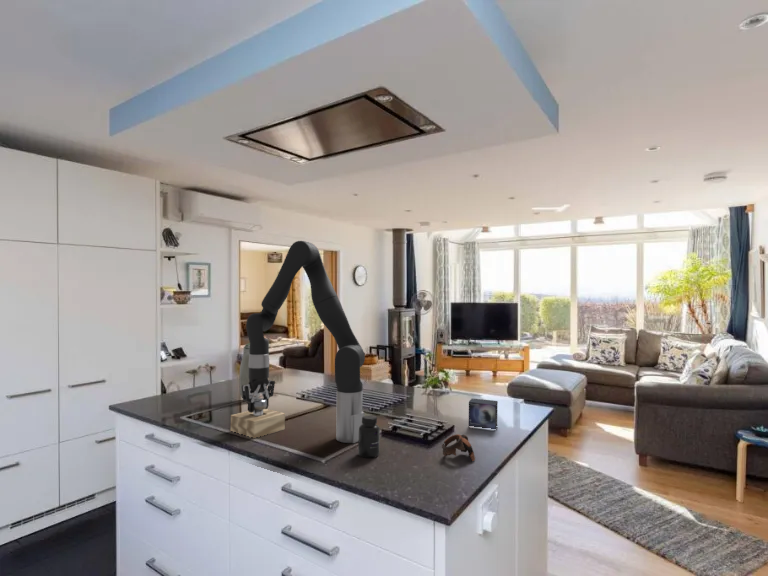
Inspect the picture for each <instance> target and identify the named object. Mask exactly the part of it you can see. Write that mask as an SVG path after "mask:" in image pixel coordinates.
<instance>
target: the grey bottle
mask: <svg viewBox="0 0 768 576" xmlns="http://www.w3.org/2000/svg"><path fill="white" fill-rule="evenodd" d="M249 355H250V342H249V343H246V344H245V345H244V346H243V354H242V358H241V361H240V366H239V395H240V397H241V398H242V399H243V396H242V385H248V383H249V377H248V375H249ZM249 389H250V388H249ZM249 391H250V390H249ZM252 394H253V392H252ZM261 395H262V394H261V393H257V396H256V397H255V399H256V398H260V396H261ZM251 398H252V397H251Z"/></svg>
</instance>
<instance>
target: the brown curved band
mask: <svg viewBox="0 0 768 576" xmlns="http://www.w3.org/2000/svg"><path fill="white" fill-rule="evenodd" d="M455 441H456V442H455ZM452 442H454V443H453V444H451V445H449V444H450V443H452ZM441 448H442V455H443V456H444V457H446V456H451V455H453V456H457V450H459V451H460V452H462V453H468V456H469V455H470V456H469V458H470V459H471V462H472V461H474V462H475V461H476V457H475V452H474V450H473V447H472V444H471V443H470V441H469V437H468V436H467V435H466V434H465V433H464V434H463V433H462V434H454V435H450V436H448V438H446V439H445V440H444V441H443V443H442V444H441Z"/></svg>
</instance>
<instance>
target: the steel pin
mask: <svg viewBox="0 0 768 576" xmlns="http://www.w3.org/2000/svg"><path fill="white" fill-rule="evenodd" d="M266 407H267V399H264V398H263V397H259V398H256V399H254V412H253V416H256V417H258V416H262V415H263V409H266Z"/></svg>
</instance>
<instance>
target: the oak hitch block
mask: <svg viewBox="0 0 768 576" xmlns="http://www.w3.org/2000/svg"><path fill="white" fill-rule="evenodd" d="M285 425H286V413H284V412H281V411H276V410H271V409H263V415H262V416H258V417H256V416H253V412H252V413H251V412H249V411H248V410H247V411H246V410H245V411H242V412H238V413H235V414H230V432H231V431H233V432H232V433H234V432H236V433H235V434H237V433H239V434H238V435H241V434H243V435H242V436H244V435H246V436H245V437H247V436H249V437H248V438H251V437H253V438H252V439H254V438H255V439H257V438H256V437H258V438H261V437H264V435H265V436H268V435H271V434H274V433H277V432H281V431H284V430H285V429H286V427H285ZM267 434H268V435H267ZM260 436H261V437H260Z"/></svg>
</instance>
